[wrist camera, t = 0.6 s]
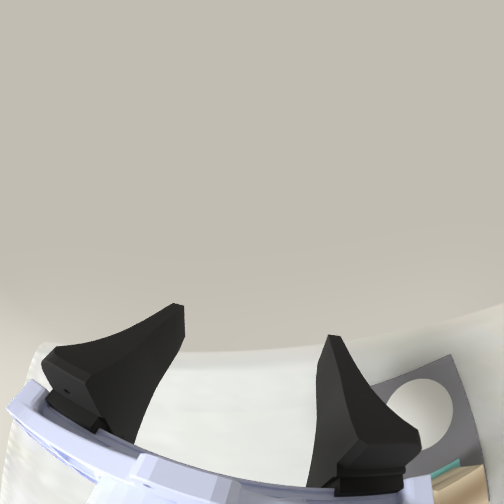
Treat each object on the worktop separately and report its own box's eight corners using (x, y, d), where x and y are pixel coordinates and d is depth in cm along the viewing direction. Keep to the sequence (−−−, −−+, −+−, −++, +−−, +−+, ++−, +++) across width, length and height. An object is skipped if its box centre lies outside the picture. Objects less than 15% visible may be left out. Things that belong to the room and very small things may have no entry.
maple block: (459, 500, 11) (488, 503, 6) (420, 521, 11) (443, 531, 7) (454, 467, 14) (483, 464, 10) (415, 487, 14) (438, 491, 10)
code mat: (487, 500, 9) (490, 500, 8) (384, 553, 10) (386, 554, 9) (449, 355, 23) (450, 353, 23) (353, 392, 24) (354, 391, 24)
